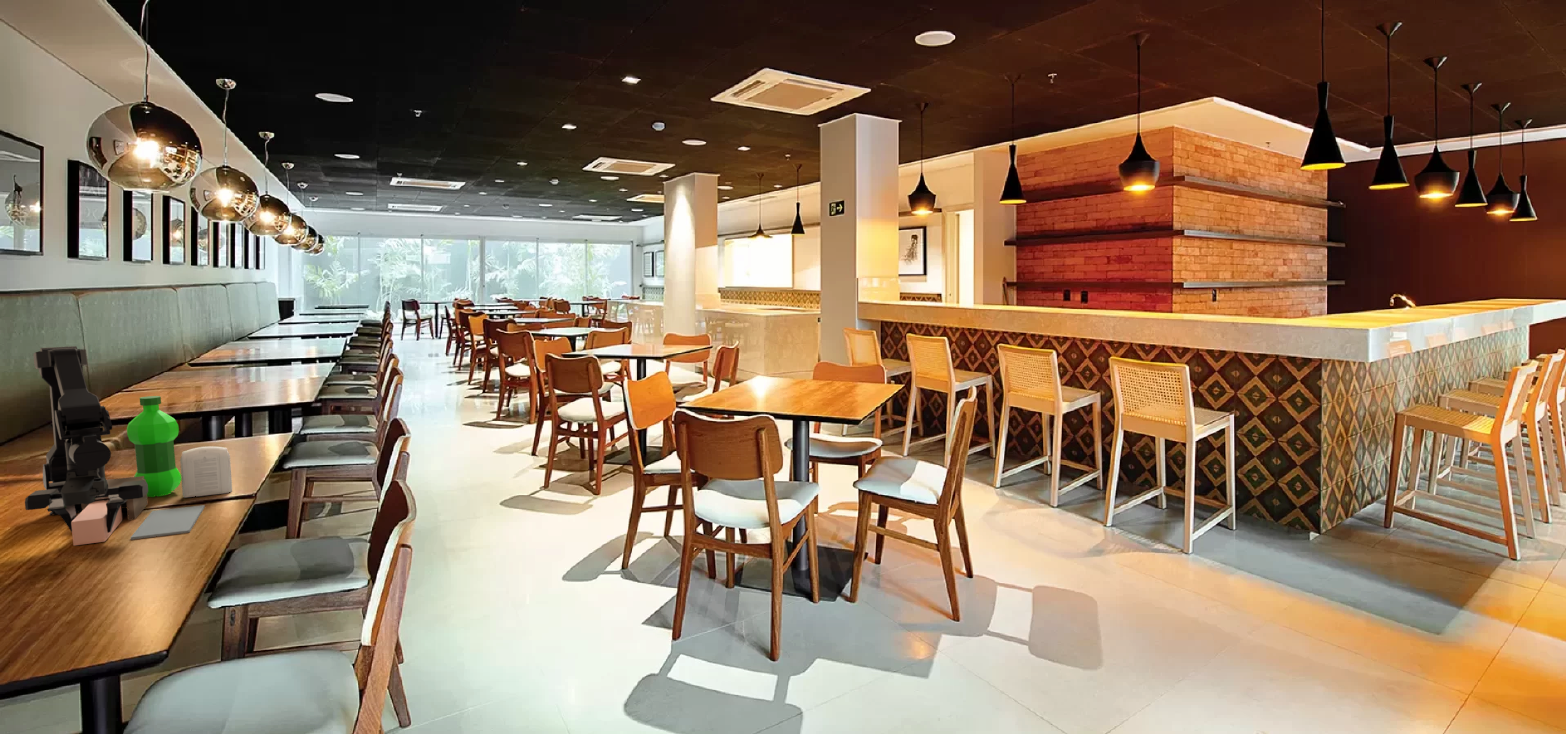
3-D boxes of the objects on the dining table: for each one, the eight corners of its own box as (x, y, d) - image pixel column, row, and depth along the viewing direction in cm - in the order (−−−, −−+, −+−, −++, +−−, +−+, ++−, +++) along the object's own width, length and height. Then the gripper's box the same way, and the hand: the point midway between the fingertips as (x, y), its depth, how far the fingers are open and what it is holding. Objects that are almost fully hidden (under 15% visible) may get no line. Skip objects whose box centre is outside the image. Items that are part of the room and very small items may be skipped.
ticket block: (73, 545, 160) (71, 522, 160) (93, 523, 175) (91, 501, 174) (105, 541, 163) (102, 518, 162) (122, 519, 177) (120, 498, 177)
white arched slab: (233, 489, 203) (229, 443, 202) (232, 493, 199) (228, 446, 198) (183, 495, 197) (179, 447, 196) (182, 499, 194) (177, 450, 192)
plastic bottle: (134, 502, 191) (124, 401, 188) (132, 493, 199) (123, 396, 196) (185, 494, 198) (176, 397, 195) (181, 486, 206) (173, 392, 203)
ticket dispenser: (82, 525, 173) (79, 493, 172) (99, 509, 185) (96, 479, 184) (134, 519, 178) (131, 488, 177) (147, 504, 190) (145, 474, 189)
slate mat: (130, 539, 165) (130, 537, 165) (152, 512, 183) (152, 510, 183) (189, 532, 169) (189, 530, 169) (204, 507, 188) (204, 505, 188)
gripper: (10, 475, 151) (19, 553, 153) (133, 464, 160) (140, 538, 162) (30, 463, 161) (39, 536, 163) (145, 454, 170) (152, 523, 172)
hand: (92, 534), depth 164 cm, fingers closed on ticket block, 5 cm apart
